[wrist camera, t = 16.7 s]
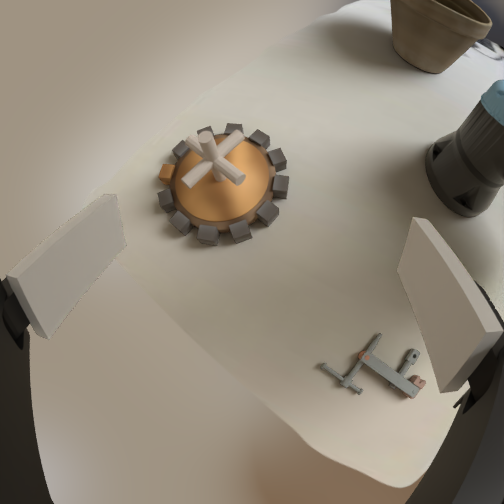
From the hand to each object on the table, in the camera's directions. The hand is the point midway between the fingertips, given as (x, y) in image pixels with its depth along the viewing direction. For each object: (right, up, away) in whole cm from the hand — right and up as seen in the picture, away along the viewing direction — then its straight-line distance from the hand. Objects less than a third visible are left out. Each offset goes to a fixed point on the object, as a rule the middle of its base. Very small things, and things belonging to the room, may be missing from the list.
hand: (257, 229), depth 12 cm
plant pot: (+41, +48, +37) cm, 73 cm away
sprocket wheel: (-5, +10, +31) cm, 33 cm away
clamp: (+18, -17, +24) cm, 34 cm away
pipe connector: (-5, +10, +29) cm, 31 cm away
